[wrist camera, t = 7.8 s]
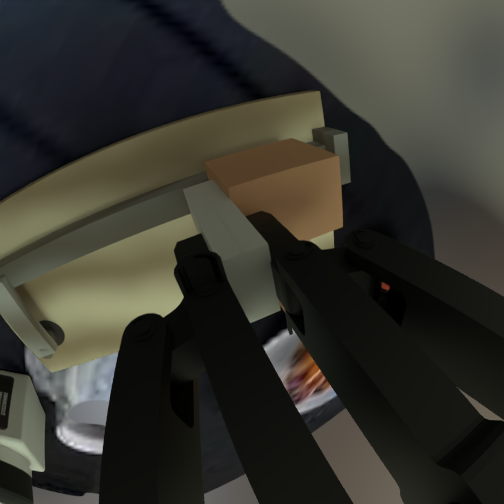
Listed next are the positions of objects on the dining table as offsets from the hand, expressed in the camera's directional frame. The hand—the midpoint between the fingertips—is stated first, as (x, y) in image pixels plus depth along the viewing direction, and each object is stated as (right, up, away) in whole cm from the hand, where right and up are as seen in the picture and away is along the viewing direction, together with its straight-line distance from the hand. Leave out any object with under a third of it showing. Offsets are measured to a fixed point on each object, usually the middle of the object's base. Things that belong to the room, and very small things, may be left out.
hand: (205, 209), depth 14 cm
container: (-23, -16, +6) cm, 29 cm away
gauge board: (-5, -2, +5) cm, 7 cm away
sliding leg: (+2, +1, +4) cm, 5 cm away
